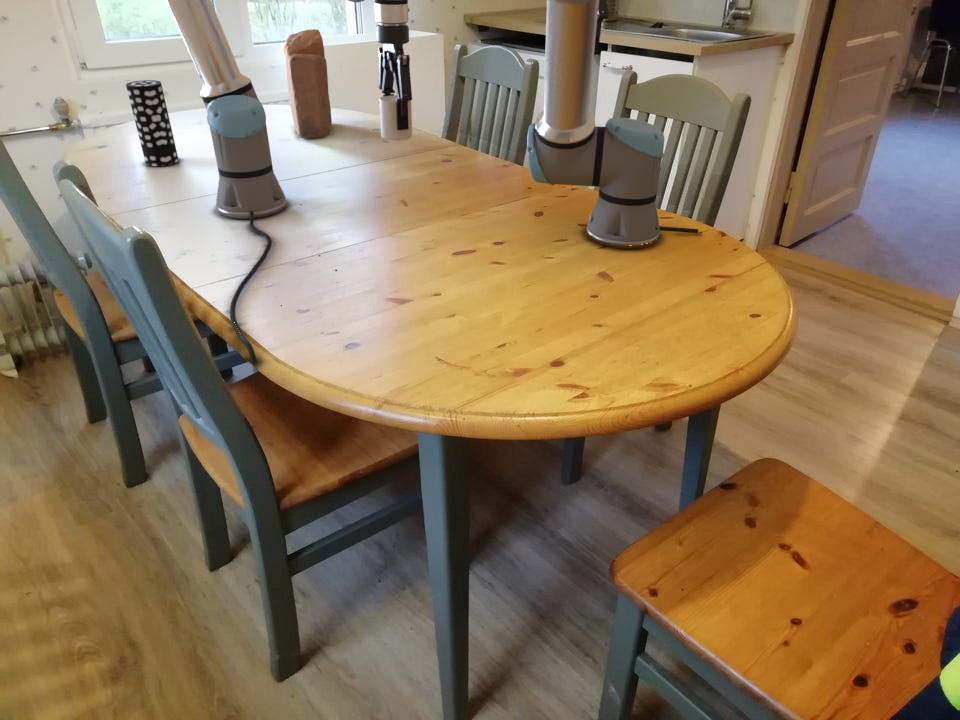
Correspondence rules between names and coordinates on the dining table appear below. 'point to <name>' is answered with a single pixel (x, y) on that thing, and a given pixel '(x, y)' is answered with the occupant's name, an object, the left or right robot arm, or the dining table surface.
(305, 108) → the stone
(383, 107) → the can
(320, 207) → the dining table surface
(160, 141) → the black white spotted cylinder
